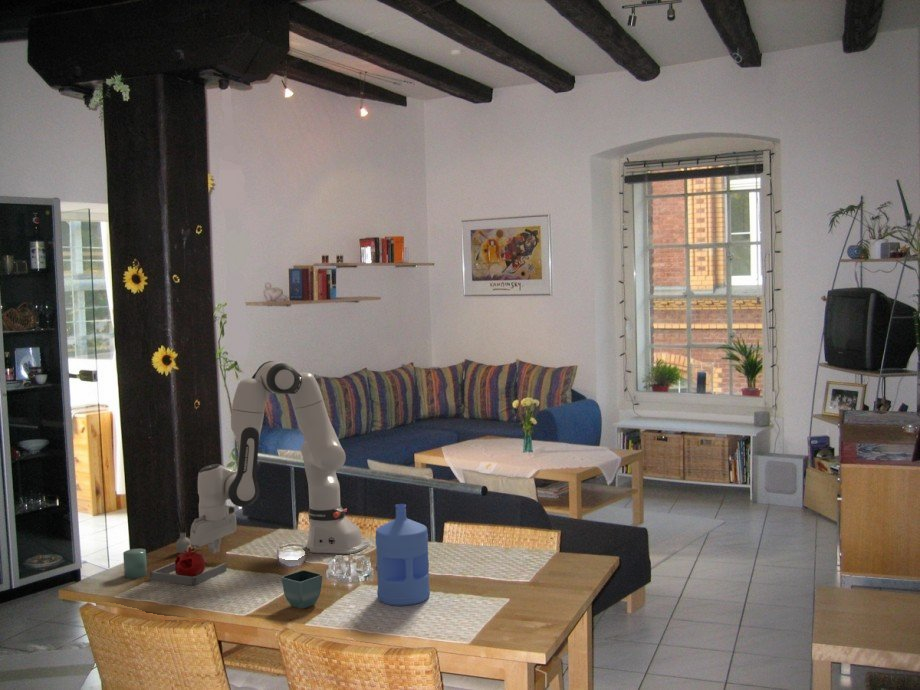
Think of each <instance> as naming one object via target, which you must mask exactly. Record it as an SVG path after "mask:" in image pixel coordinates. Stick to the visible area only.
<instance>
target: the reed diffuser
mask: <svg viewBox="0 0 920 690" xmlns="http://www.w3.org/2000/svg"><path fill="white" fill-rule="evenodd" d="M171 501H172V505H173V508H174V511H175V515H176V518H177V519H176V520H177V522H178V526H179V530H180V533H179V534H180V535H179V538H178V539H177V540H176V551H177V554H179V553H180V554H182V553H185V551H187V552H188V547H191V549H192V550H195V549H196V548H197V547H194V546H192V545H191V544H190V538H188V537H187V534H186V527H184V525H186V522H187V521H186V520H187V511H185V514H184V515H185V516H184V522H183V518H182V513H181V507H180V501H179V499H177V504H178V509H179V514H180V516H179V515H178V512H177V509H176V506H175V501H174V500H173V499H171ZM187 504H188V496H186V500H185V510H187V507H188V505H187ZM179 517H180V519H179ZM180 520H181V522H180ZM183 523H184V525H183ZM184 550H185V551H184ZM182 551H183V552H182ZM181 552H182V553H181Z"/></svg>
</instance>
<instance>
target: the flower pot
mask: <svg viewBox="0 0 920 690" xmlns="http://www.w3.org/2000/svg"><path fill="white" fill-rule="evenodd" d="M322 582H323V574H321V573H318V572H314V571H309V570H305V569H301V570H298V571H295V572H292V573H289V574H286V575H283V576H281V585H282V590H283V594H284V597H285V599H286V601H287V602H288V604H289V605H290V606H291V607H293V608H294V607H295V608H297V609H301V610H303V609H306V608H308V607H312V606H314V605H315V604H316V603H317V602H318V599H319V597H320V595H321V592H322V591H321V590H322V584H323V583H322Z"/></svg>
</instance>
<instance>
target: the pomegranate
mask: <svg viewBox="0 0 920 690" xmlns="http://www.w3.org/2000/svg"><path fill="white" fill-rule="evenodd" d="M192 550H193V549H191V547H188V552H187V551H185V550H184V551H185V553H182V552H183V551H182V552H181V553H178V554H177V557H176V558H175V561H174V562H175V571H174V573H175V575H183V576H190V577H194V576H197V575H199V574H201V573H203V572H205V569H206V562H205V558H204V556H203V555H202V554H201V553H199V552H201V551H202V550H195V551H192Z"/></svg>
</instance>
